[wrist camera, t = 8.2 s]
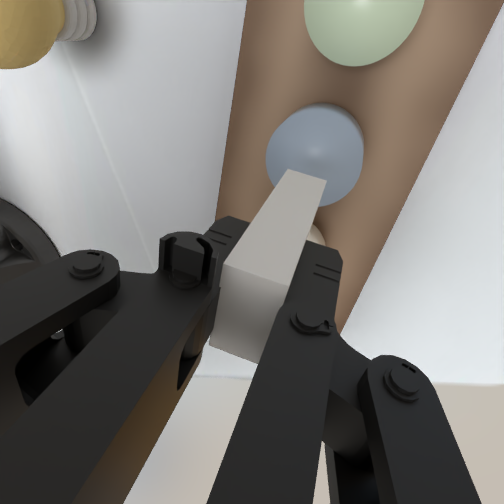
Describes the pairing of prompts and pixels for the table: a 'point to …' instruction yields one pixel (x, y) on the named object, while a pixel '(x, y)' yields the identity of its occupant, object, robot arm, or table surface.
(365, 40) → the sage button
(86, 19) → the light bulb
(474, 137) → the table surface
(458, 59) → the button board
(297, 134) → the slate button
